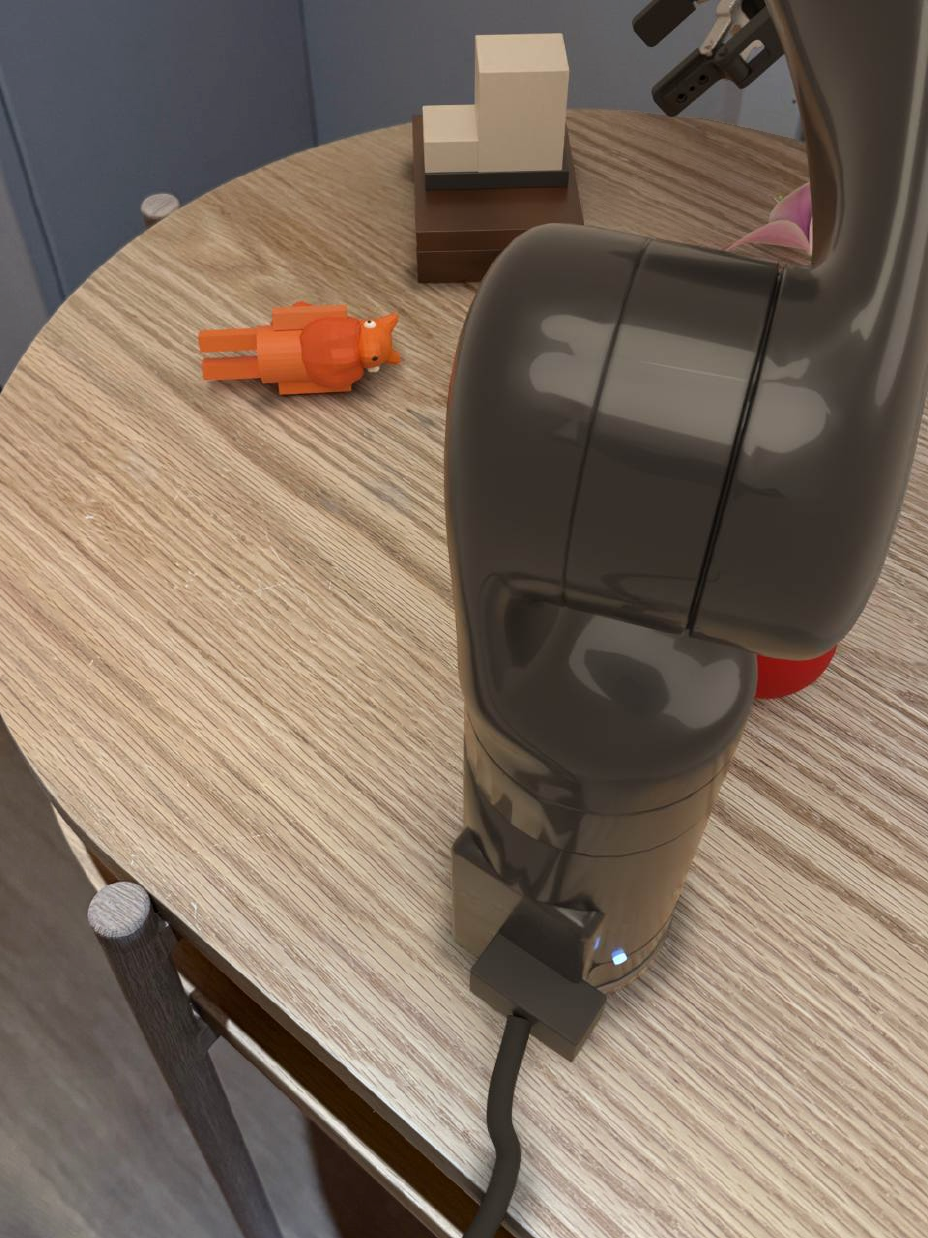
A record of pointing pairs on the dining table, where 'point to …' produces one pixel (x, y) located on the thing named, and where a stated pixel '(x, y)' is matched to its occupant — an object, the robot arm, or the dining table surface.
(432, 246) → the brown lidded case
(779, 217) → the lily
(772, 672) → the christmas ornament
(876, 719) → the dining table surface
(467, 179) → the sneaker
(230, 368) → the orange toy figure
